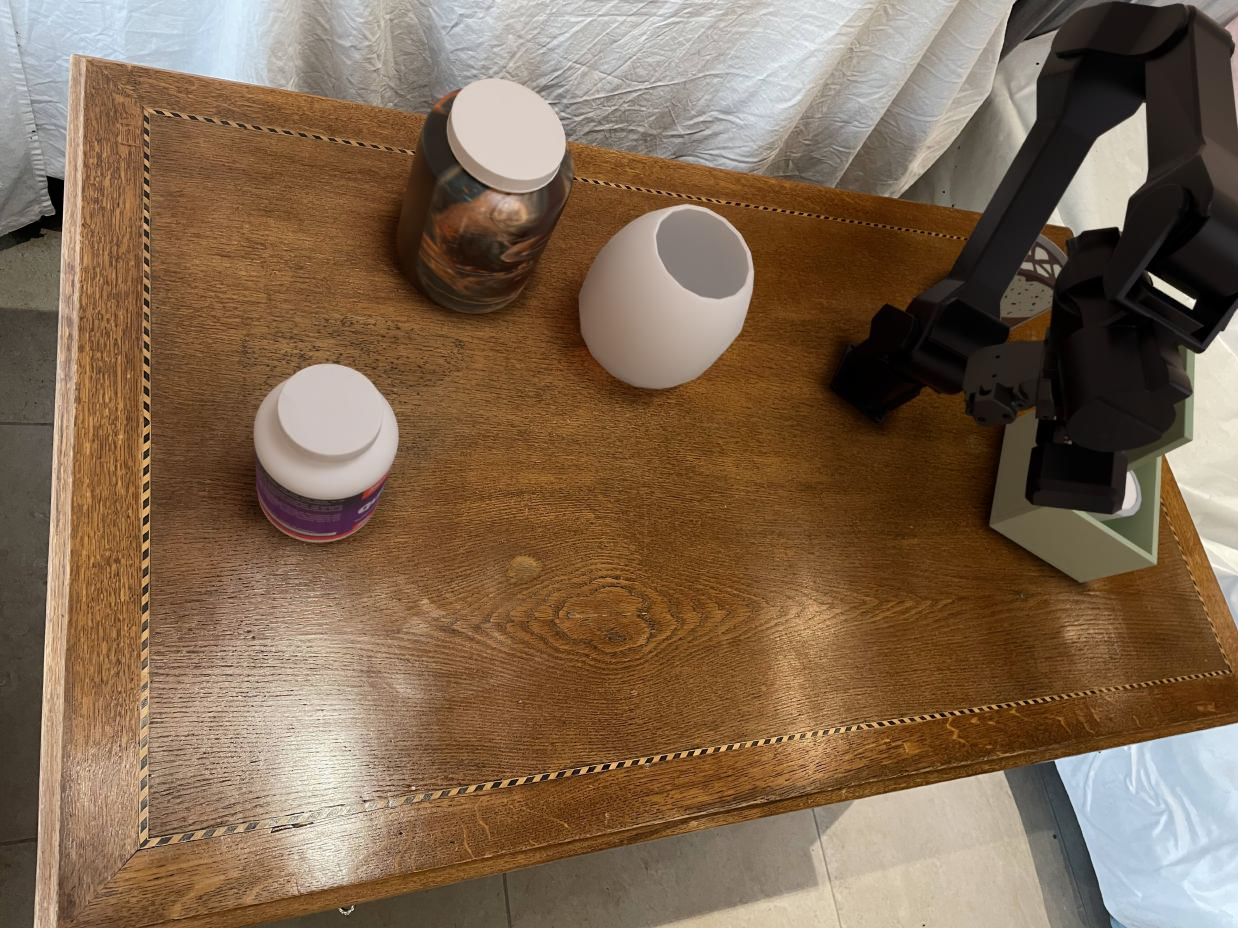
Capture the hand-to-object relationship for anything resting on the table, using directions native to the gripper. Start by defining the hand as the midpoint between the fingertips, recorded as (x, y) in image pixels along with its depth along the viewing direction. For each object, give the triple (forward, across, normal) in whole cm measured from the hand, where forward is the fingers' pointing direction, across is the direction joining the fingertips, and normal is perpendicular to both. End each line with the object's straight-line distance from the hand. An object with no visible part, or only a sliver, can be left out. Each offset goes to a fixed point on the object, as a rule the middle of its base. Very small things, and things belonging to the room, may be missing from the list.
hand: (1074, 465), depth 67 cm
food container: (+7, -26, -13) cm, 30 cm away
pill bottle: (-28, +29, -46) cm, 61 cm away
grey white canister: (+17, -7, -1) cm, 18 cm away
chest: (+16, -7, -2) cm, 18 cm away
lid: (+1, -7, +4) cm, 8 cm away
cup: (-17, +3, -36) cm, 39 cm away
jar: (-28, +5, -47) cm, 55 cm away
